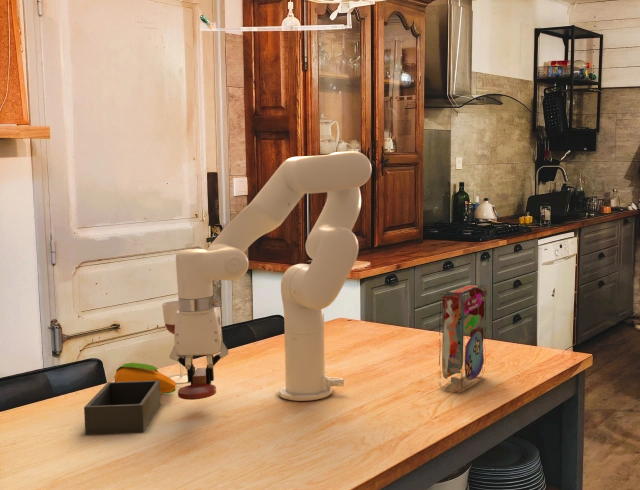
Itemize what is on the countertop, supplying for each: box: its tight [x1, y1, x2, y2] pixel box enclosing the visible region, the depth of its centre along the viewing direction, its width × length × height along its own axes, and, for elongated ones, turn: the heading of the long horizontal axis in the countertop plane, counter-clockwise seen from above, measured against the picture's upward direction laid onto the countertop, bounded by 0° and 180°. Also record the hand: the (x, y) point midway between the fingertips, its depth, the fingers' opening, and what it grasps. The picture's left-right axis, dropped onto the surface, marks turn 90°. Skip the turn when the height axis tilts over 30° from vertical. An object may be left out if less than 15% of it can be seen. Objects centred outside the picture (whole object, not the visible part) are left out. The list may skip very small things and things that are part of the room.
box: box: [438, 284, 489, 394], centre depth 198 cm, size 25×6×24 cm, turn 153°
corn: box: [113, 362, 177, 395], centre depth 188 cm, size 7×8×20 cm
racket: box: [177, 367, 217, 401], centre depth 172 cm, size 8×15×3 cm, turn 7°
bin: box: [83, 381, 162, 436], centre depth 169 cm, size 12×19×6 cm, turn 7°
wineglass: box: [162, 300, 189, 384], centre depth 201 cm, size 8×9×20 cm
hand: (201, 383), depth 175 cm, fingers closed on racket, 2 cm apart
